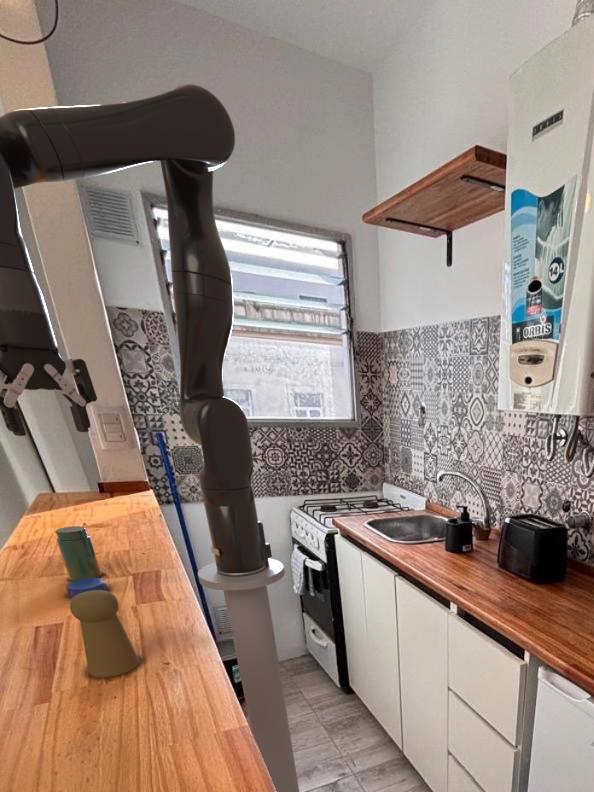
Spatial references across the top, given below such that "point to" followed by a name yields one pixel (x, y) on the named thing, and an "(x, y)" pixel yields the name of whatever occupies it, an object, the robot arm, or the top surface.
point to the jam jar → (78, 553)
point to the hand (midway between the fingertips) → (52, 433)
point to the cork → (103, 634)
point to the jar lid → (85, 586)
